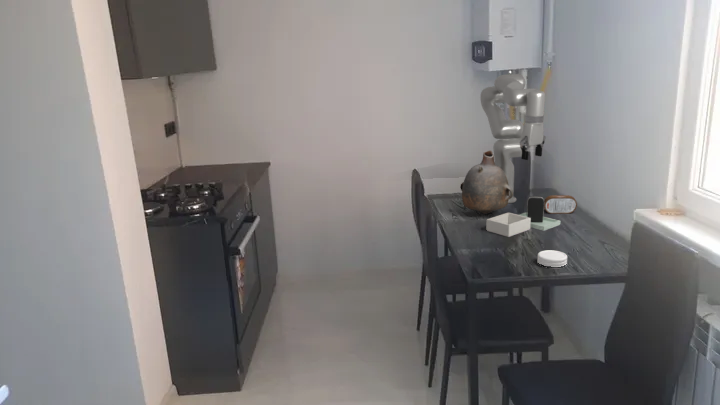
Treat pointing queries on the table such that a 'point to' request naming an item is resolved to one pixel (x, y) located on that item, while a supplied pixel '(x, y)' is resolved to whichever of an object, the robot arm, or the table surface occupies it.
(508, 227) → the white square bin
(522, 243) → the table surface
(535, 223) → the tray
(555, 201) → the tin
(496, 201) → the jug
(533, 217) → the battery charger
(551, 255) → the white round disc
